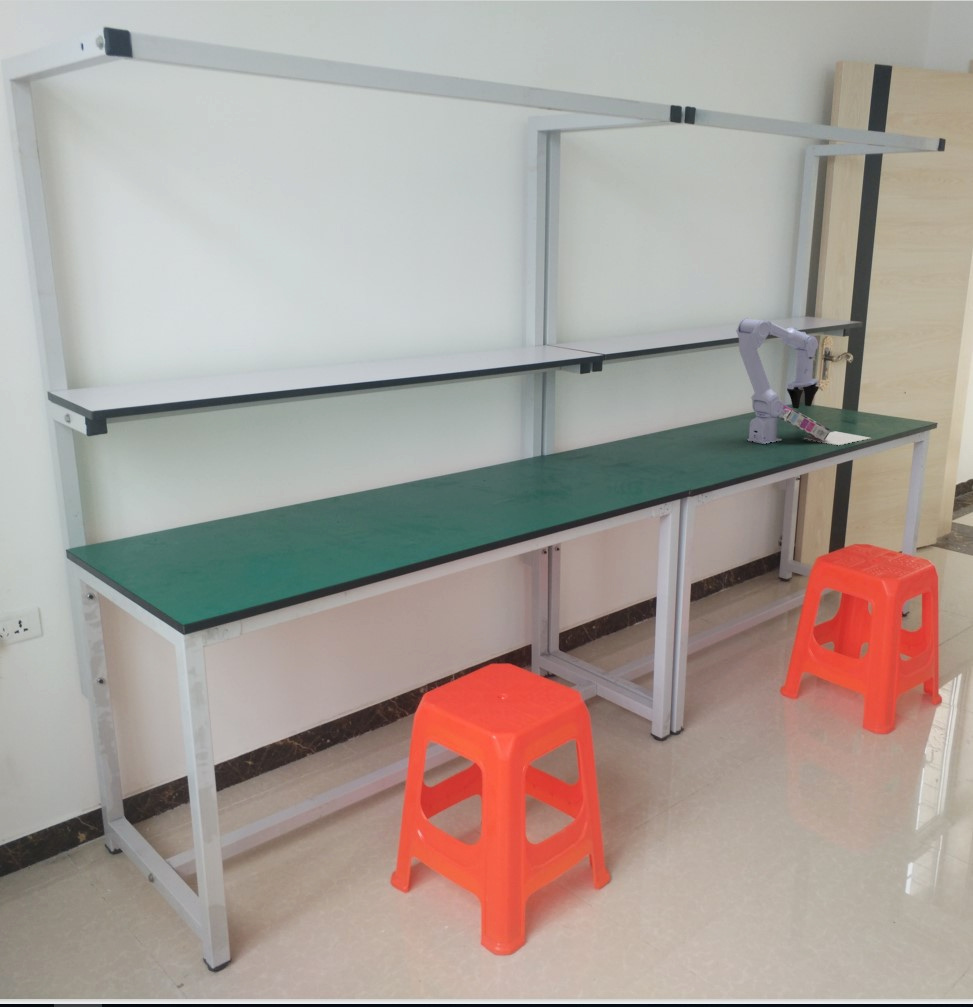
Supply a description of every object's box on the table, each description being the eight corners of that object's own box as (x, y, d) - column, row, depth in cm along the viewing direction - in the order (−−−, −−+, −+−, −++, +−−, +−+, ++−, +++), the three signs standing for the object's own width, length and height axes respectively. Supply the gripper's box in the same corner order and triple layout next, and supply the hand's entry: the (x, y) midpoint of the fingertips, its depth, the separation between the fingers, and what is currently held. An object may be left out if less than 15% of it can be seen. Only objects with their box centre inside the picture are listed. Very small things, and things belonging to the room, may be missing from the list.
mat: (838, 445, 333) (838, 444, 332) (802, 439, 345) (803, 437, 344) (871, 438, 342) (871, 437, 342) (835, 432, 354) (835, 431, 354)
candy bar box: (831, 429, 336) (792, 408, 333) (824, 442, 337) (785, 421, 334) (818, 423, 347) (780, 403, 344) (811, 435, 348) (773, 415, 345)
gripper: (800, 372, 337) (797, 410, 340) (826, 368, 344) (824, 406, 348) (783, 370, 342) (781, 408, 346) (810, 366, 350) (807, 403, 354)
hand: (801, 407), depth 347 cm, fingers open, 6 cm apart
